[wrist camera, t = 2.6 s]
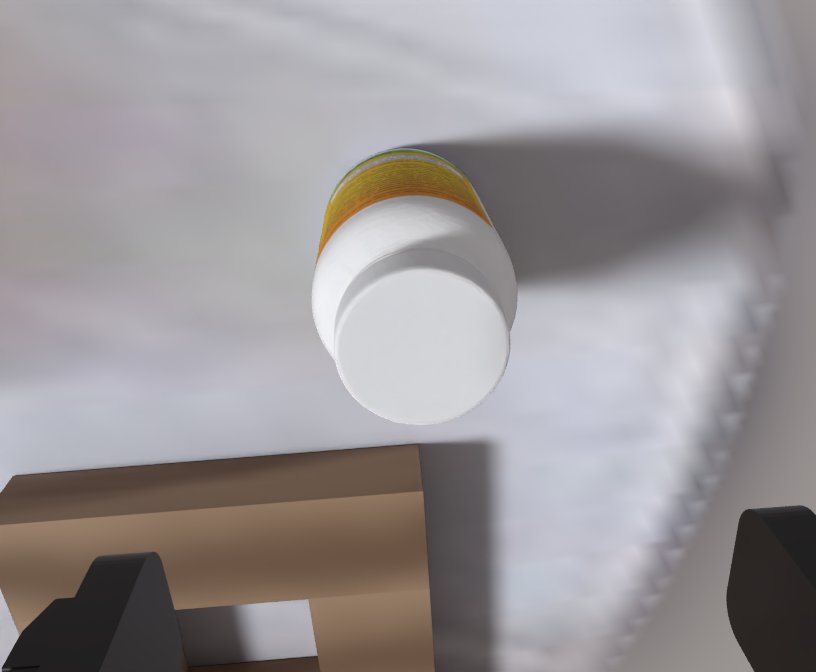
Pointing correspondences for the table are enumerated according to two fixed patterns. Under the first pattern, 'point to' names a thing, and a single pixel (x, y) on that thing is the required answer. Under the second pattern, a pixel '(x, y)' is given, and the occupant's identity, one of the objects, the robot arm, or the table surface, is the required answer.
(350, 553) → the walnut bottle holder
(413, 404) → the supplement bottle
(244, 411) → the table surface
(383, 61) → the table surface
